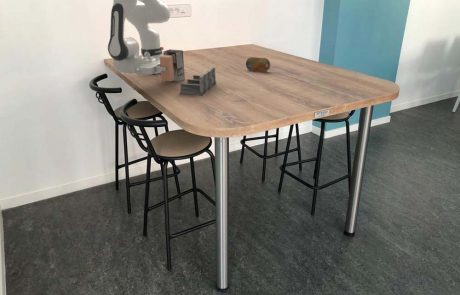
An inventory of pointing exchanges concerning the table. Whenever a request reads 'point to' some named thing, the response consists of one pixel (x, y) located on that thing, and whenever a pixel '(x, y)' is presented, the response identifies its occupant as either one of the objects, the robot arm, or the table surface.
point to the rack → (199, 83)
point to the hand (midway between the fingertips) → (168, 67)
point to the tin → (257, 64)
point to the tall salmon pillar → (168, 63)
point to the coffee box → (177, 63)
